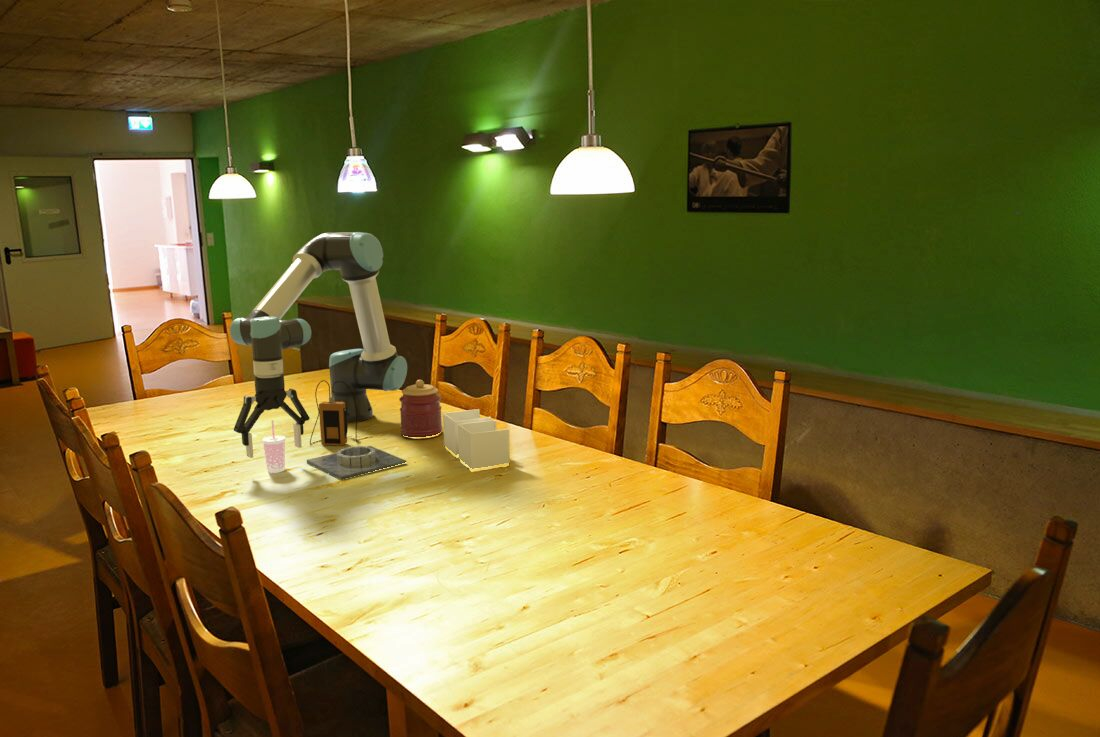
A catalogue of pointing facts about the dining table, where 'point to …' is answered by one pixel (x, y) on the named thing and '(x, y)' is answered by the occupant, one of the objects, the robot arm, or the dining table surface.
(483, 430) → the desk organizer
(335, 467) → the cup holder
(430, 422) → the canister
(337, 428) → the multimeter
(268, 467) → the beverage cup
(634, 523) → the dining table surface
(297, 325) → the robot arm
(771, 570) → the dining table surface
